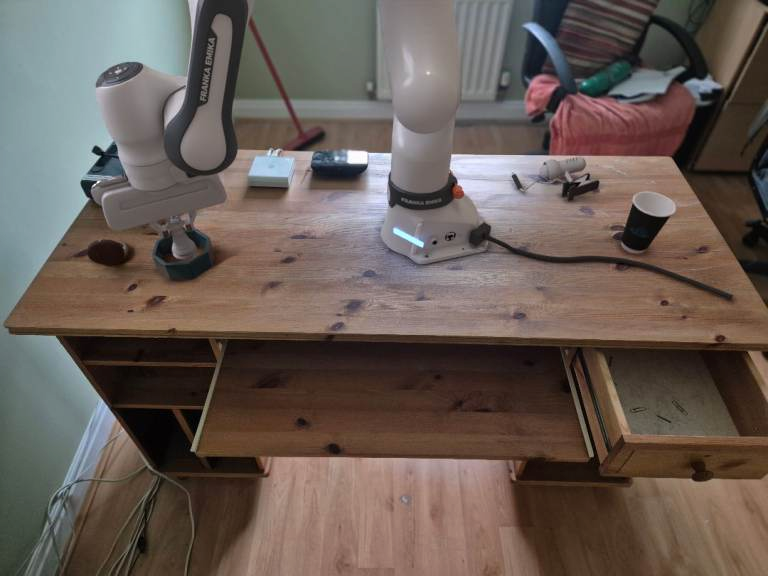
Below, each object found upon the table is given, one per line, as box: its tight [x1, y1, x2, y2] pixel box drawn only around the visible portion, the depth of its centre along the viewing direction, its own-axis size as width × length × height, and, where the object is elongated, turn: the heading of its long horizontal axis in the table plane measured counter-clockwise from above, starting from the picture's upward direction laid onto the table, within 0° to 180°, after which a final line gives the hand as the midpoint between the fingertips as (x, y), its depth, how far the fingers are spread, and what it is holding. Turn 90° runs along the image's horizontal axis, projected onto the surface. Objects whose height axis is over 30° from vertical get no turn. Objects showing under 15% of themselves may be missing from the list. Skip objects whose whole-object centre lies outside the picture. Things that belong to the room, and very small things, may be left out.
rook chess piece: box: [165, 215, 198, 261], centre depth 93 cm, size 4×4×8 cm
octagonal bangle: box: [151, 228, 216, 282], centre depth 96 cm, size 10×10×4 cm
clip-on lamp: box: [510, 156, 601, 202], centre depth 116 cm, size 12×6×18 cm
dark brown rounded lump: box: [85, 237, 132, 266], centre depth 95 cm, size 8×8×7 cm
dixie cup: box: [620, 191, 677, 255], centre depth 100 cm, size 8×8×11 cm
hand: (178, 232), depth 92 cm, fingers closed on rook chess piece, 3 cm apart
